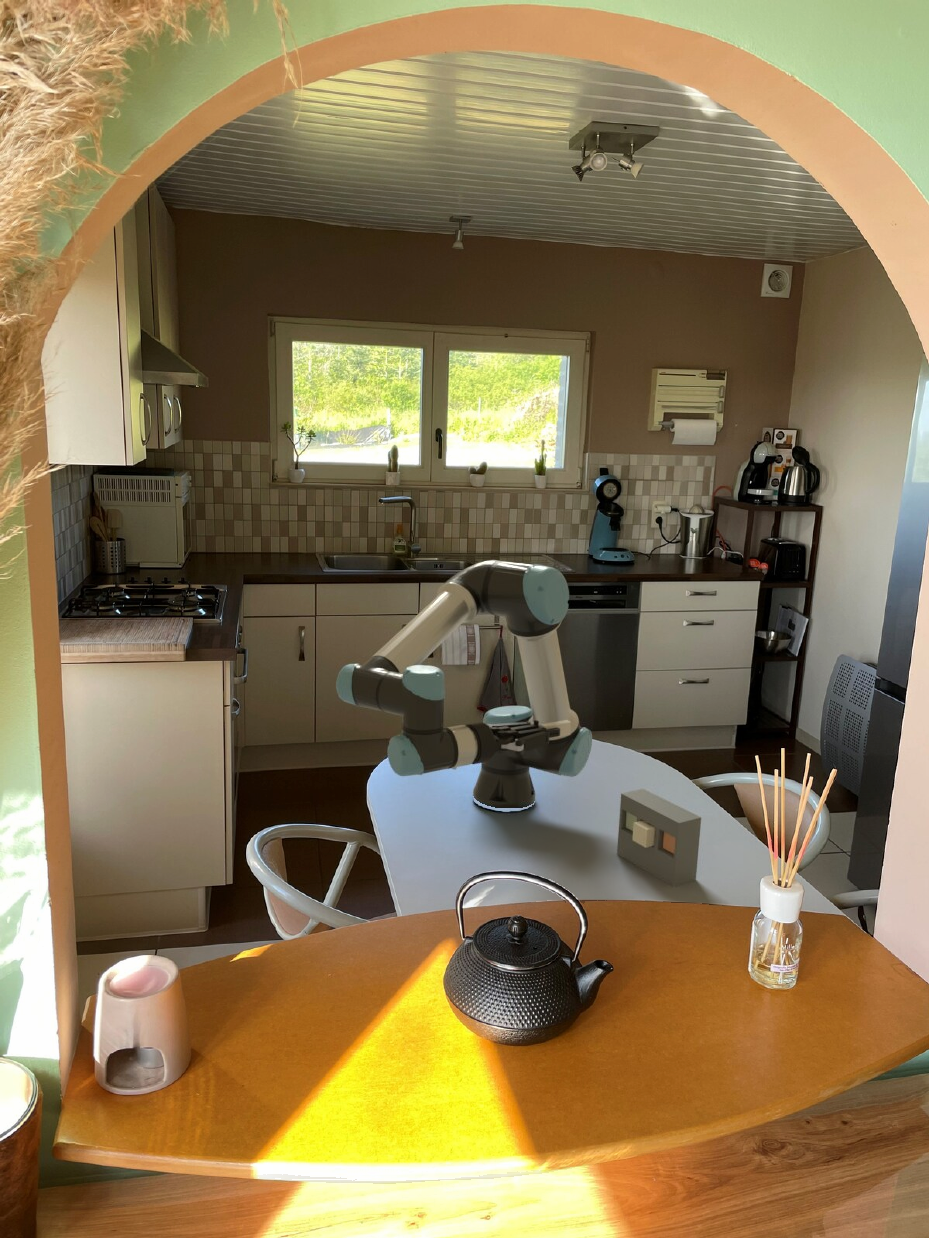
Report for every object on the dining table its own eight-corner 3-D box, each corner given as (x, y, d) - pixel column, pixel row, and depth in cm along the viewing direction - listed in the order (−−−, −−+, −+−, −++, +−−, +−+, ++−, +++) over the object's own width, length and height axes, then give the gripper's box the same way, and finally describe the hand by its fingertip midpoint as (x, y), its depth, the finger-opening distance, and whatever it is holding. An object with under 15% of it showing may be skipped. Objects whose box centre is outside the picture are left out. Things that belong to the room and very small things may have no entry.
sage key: (625, 827, 196) (626, 810, 195) (639, 823, 198) (641, 806, 197) (638, 834, 193) (639, 817, 192) (652, 830, 195) (654, 813, 194)
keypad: (616, 855, 197) (621, 793, 195) (638, 849, 201) (642, 788, 198) (673, 889, 183) (679, 823, 181) (695, 882, 186) (701, 817, 184)
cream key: (632, 840, 190) (633, 822, 189) (647, 836, 192) (648, 818, 191) (645, 847, 186) (647, 829, 186) (660, 843, 188) (661, 826, 188)
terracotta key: (662, 847, 187) (664, 829, 186) (677, 843, 189) (678, 826, 188) (676, 855, 183) (678, 837, 183) (691, 851, 185) (693, 833, 185)
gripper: (449, 753, 180) (548, 735, 192) (486, 774, 169) (587, 755, 181) (450, 715, 178) (549, 701, 190) (487, 735, 167) (590, 718, 180)
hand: (568, 727), depth 186 cm, fingers closed
